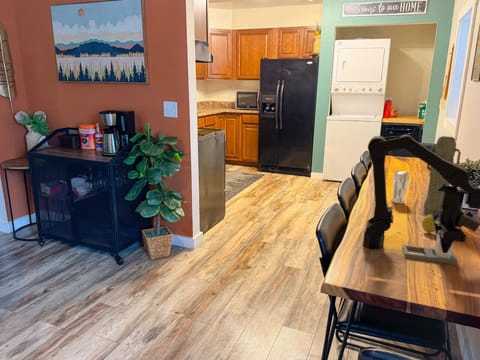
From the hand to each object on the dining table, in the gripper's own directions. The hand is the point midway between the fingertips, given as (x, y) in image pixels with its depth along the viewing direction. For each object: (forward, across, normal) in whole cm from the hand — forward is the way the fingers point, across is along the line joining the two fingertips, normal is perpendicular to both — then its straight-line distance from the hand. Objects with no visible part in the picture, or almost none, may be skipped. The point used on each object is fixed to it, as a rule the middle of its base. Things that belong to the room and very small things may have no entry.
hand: (443, 249), depth 117 cm
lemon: (+4, +23, 0) cm, 23 cm away
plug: (+2, 0, 0) cm, 2 cm away
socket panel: (+4, 0, +4) cm, 5 cm away
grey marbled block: (+4, +61, +7) cm, 62 cm away
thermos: (+4, +48, -7) cm, 49 cm away
